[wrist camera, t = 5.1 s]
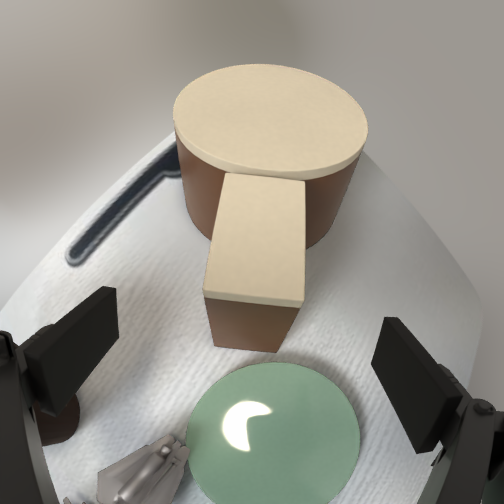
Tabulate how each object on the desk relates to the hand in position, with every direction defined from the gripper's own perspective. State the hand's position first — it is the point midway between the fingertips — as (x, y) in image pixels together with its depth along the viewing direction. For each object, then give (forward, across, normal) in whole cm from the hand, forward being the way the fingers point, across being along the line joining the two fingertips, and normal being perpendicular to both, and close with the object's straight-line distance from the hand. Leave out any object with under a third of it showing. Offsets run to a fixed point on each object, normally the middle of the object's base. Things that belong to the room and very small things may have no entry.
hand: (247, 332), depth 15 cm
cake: (+21, 0, +5) cm, 21 cm away
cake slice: (+12, 0, -4) cm, 12 cm away
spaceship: (-7, -12, -23) cm, 27 cm away
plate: (+4, +3, -12) cm, 13 cm away
